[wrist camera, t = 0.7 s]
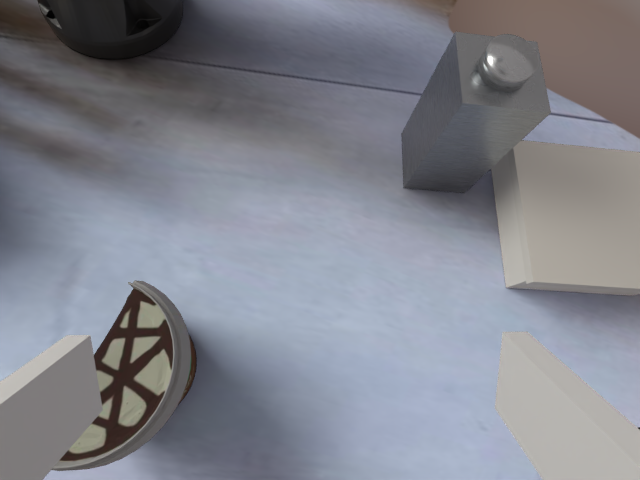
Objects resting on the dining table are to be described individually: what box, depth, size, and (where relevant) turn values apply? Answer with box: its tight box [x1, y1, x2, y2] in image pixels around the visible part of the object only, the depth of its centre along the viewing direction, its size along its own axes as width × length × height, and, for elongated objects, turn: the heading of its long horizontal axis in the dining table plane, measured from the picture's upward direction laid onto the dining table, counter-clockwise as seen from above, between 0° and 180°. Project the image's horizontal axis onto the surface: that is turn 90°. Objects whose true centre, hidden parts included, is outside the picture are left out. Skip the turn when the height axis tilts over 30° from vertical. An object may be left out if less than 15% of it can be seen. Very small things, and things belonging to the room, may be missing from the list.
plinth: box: [491, 140, 640, 296], centre depth 39 cm, size 15×15×5 cm
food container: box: [51, 281, 197, 471], centre depth 28 cm, size 12×6×10 cm, turn 160°
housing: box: [401, 32, 551, 193], centre depth 35 cm, size 7×7×16 cm
